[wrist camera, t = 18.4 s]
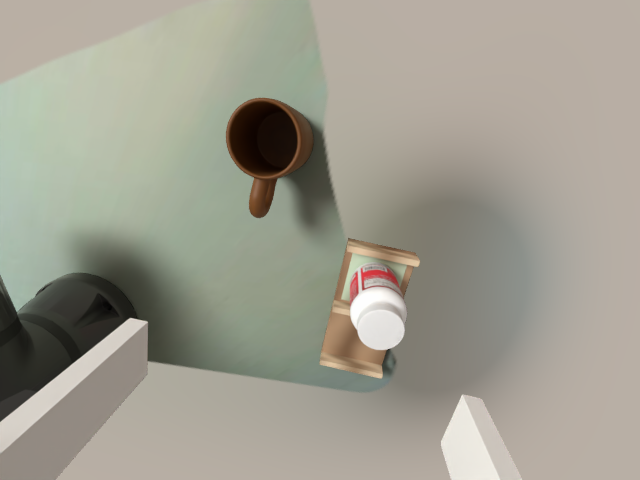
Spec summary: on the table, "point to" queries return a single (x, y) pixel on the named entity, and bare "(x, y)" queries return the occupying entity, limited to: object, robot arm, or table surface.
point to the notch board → (341, 334)
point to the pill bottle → (377, 306)
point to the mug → (267, 146)
